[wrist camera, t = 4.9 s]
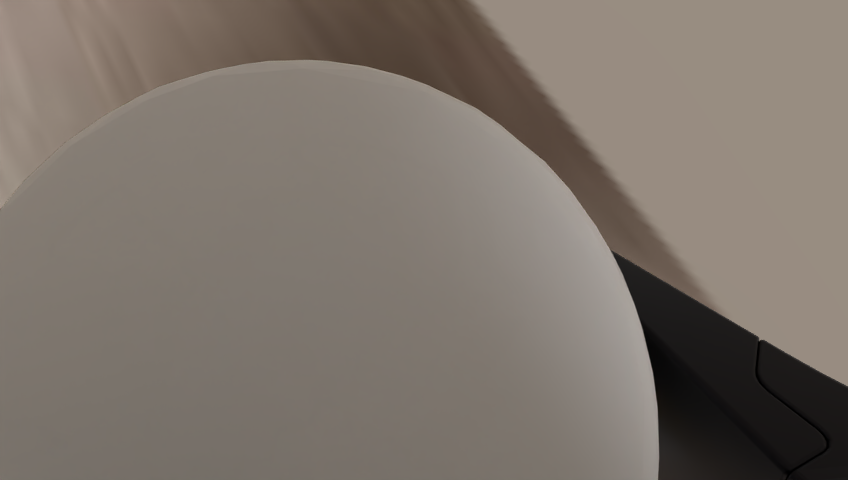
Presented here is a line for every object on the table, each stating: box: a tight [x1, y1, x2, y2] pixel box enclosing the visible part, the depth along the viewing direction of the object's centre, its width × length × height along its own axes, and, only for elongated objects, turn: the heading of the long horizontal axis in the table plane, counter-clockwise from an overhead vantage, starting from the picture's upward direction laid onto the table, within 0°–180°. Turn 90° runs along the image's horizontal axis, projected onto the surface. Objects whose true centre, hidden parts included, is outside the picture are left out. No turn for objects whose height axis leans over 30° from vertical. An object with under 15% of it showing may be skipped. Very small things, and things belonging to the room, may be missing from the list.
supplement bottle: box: [0, 60, 659, 480], centre depth 9 cm, size 7×7×13 cm
